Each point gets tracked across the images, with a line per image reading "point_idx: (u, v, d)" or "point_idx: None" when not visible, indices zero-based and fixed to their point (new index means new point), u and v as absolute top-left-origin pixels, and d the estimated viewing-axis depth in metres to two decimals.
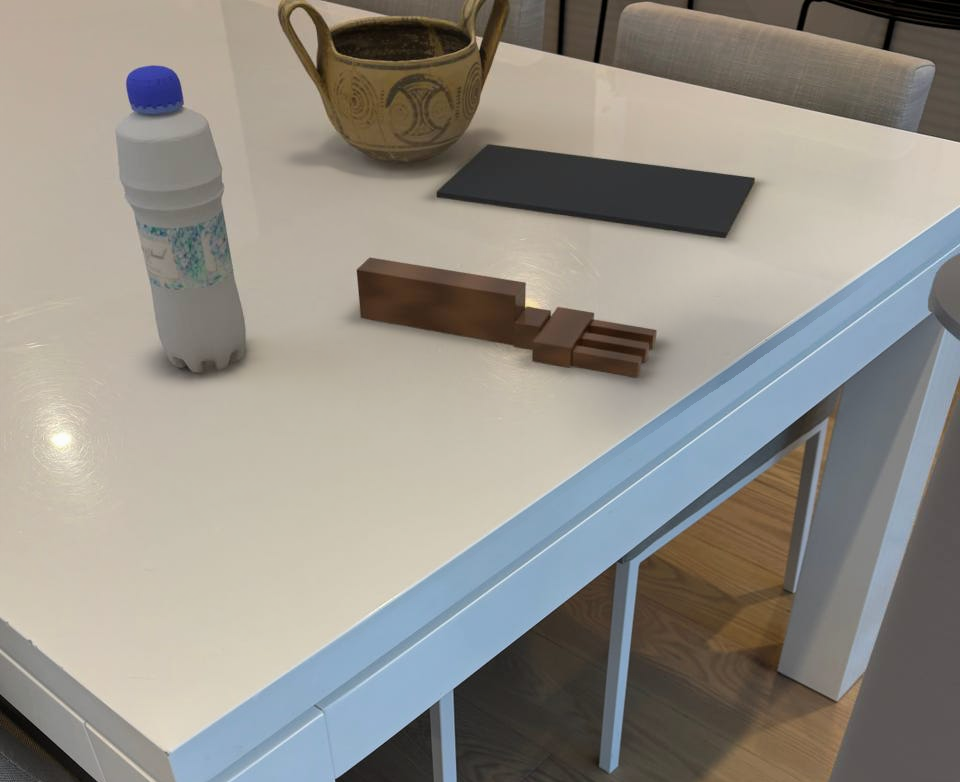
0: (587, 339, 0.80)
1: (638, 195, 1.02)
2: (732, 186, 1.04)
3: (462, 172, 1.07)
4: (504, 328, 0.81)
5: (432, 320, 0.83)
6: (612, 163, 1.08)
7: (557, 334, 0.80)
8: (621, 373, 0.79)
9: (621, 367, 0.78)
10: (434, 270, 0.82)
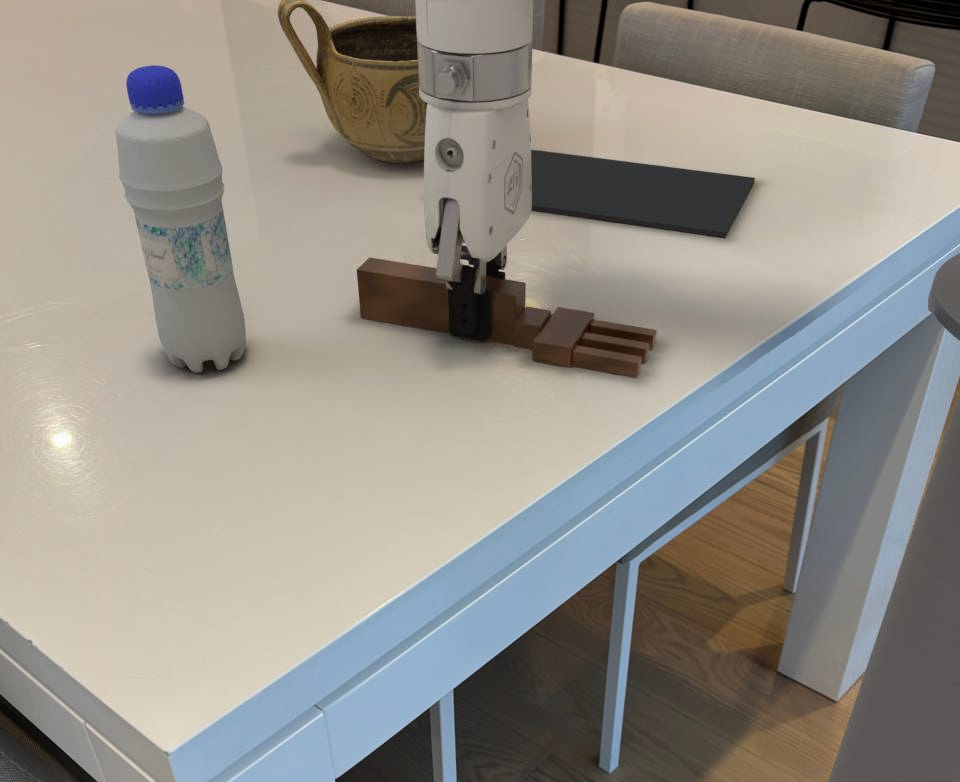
0: (587, 339, 0.80)
1: (638, 195, 1.02)
2: (732, 186, 1.04)
3: None
4: (504, 328, 0.81)
5: (432, 320, 0.83)
6: (612, 163, 1.08)
7: (557, 334, 0.80)
8: (621, 373, 0.79)
9: (621, 367, 0.78)
10: (434, 270, 0.82)
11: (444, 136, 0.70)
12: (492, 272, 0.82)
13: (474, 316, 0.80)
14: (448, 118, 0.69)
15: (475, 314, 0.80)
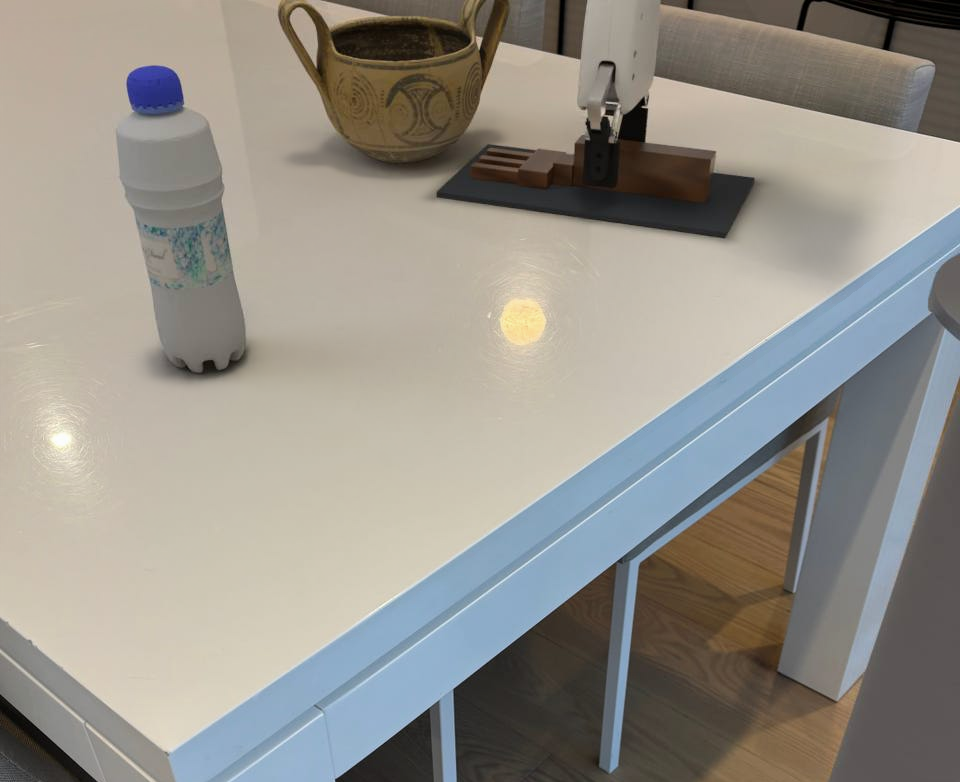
0: (524, 160, 1.06)
1: (638, 195, 1.02)
2: (732, 186, 1.04)
3: (462, 172, 1.07)
4: None
5: None
6: None
7: (547, 155, 1.06)
8: None
9: None
10: (651, 150, 1.00)
11: None
12: None
13: None
14: None
15: None
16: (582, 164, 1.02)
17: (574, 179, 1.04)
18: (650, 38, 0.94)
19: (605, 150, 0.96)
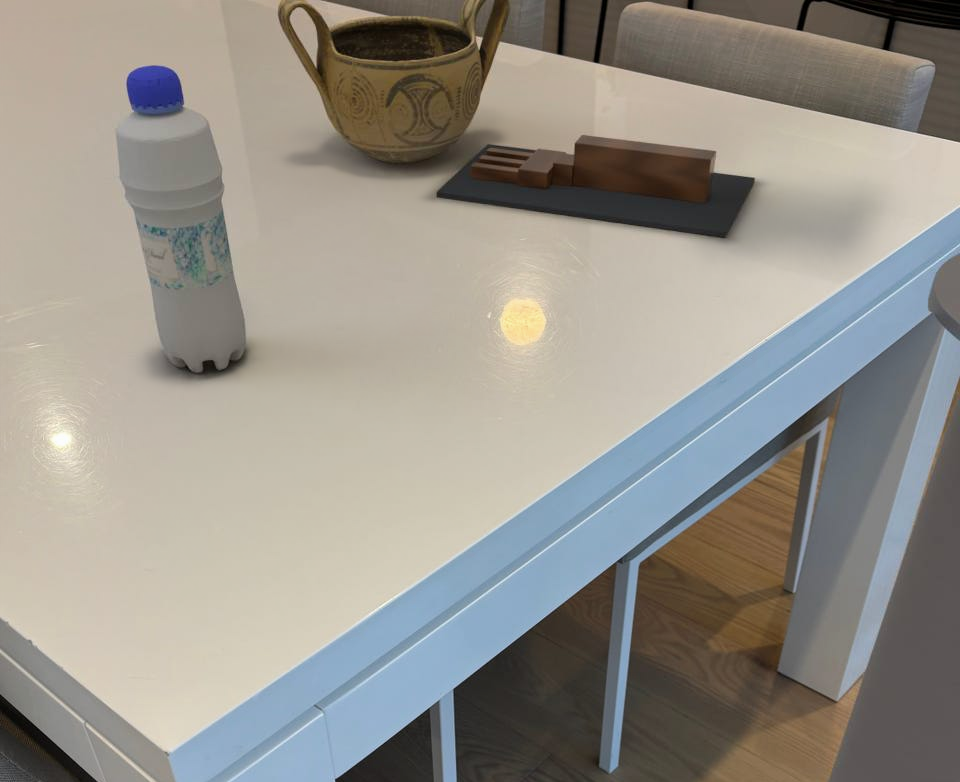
0: (524, 160, 1.06)
1: (638, 195, 1.02)
2: (732, 186, 1.04)
3: (462, 172, 1.07)
4: None
5: None
6: None
7: (547, 155, 1.06)
8: None
9: None
10: (651, 150, 1.00)
11: None
12: None
13: None
14: None
15: None
16: (582, 164, 1.02)
17: (574, 179, 1.04)
18: None
19: None
